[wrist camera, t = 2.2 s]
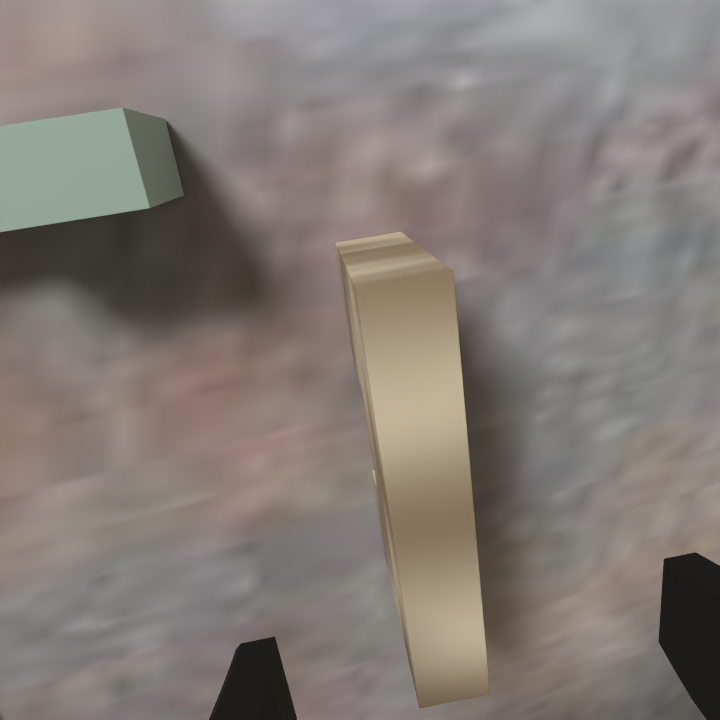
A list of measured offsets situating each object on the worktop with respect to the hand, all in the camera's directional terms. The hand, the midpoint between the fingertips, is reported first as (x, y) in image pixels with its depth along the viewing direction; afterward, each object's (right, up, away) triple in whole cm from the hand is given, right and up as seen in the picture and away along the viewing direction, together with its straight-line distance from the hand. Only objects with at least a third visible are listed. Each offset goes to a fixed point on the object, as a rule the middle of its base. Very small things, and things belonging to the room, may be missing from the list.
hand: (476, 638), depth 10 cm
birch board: (-1, +3, +9) cm, 9 cm away
